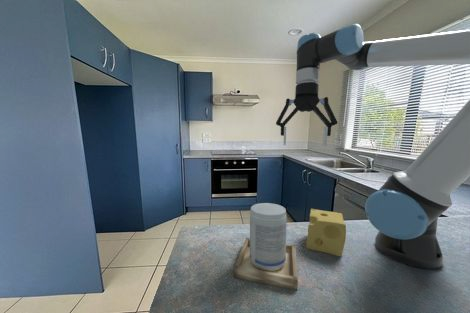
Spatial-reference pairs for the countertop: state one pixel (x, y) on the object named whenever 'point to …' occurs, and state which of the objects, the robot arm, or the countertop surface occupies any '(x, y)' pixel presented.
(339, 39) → the robot arm
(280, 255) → the supplement tub
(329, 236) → the cheese
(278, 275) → the tray
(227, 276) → the countertop surface
